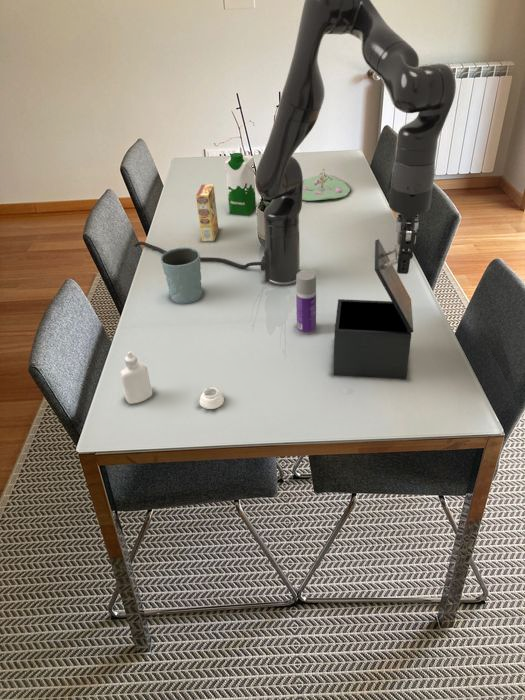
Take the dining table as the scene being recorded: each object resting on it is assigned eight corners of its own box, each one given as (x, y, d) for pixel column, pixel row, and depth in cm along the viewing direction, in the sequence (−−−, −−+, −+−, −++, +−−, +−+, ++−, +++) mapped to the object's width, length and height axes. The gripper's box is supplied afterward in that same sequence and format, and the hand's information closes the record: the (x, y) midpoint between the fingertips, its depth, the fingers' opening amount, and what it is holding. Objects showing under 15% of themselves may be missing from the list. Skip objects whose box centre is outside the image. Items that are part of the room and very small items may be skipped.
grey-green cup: (211, 290, 164) (206, 250, 157) (192, 308, 157) (187, 268, 150) (179, 283, 168) (173, 244, 161) (160, 301, 160) (152, 261, 153)
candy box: (214, 241, 188) (209, 195, 179) (201, 241, 188) (195, 195, 179) (219, 229, 195) (214, 184, 186) (206, 229, 196) (201, 184, 187)
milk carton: (226, 214, 204) (221, 156, 193) (236, 204, 211) (231, 147, 199) (250, 217, 202) (246, 158, 190) (259, 206, 209) (256, 148, 197)
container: (314, 335, 144) (314, 280, 135) (295, 333, 145) (294, 279, 136) (317, 324, 148) (317, 270, 139) (298, 323, 149) (297, 269, 140)
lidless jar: (228, 402, 126) (214, 391, 129) (227, 391, 124) (212, 380, 127) (209, 413, 123) (195, 402, 127) (208, 403, 122) (193, 391, 125)
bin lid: (374, 269, 115) (400, 258, 113) (375, 240, 125) (399, 229, 123) (409, 333, 122) (435, 323, 120) (407, 300, 132) (431, 291, 130)
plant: (290, 178, 229) (289, 155, 223) (344, 175, 228) (345, 152, 223) (294, 204, 208) (294, 179, 203) (354, 201, 208) (355, 176, 203)
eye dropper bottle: (127, 391, 131) (117, 347, 123) (153, 389, 131) (144, 345, 123) (125, 404, 127) (113, 359, 120) (151, 403, 127) (142, 358, 120)
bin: (333, 375, 132) (334, 330, 125) (336, 341, 142) (338, 299, 135) (406, 379, 129) (411, 334, 122) (404, 345, 139) (409, 302, 132)
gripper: (391, 169, 116) (383, 247, 126) (391, 198, 105) (382, 281, 115) (430, 170, 115) (419, 249, 125) (435, 199, 104) (423, 284, 114)
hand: (402, 264), depth 120 cm, fingers closed on bin lid, 6 cm apart
